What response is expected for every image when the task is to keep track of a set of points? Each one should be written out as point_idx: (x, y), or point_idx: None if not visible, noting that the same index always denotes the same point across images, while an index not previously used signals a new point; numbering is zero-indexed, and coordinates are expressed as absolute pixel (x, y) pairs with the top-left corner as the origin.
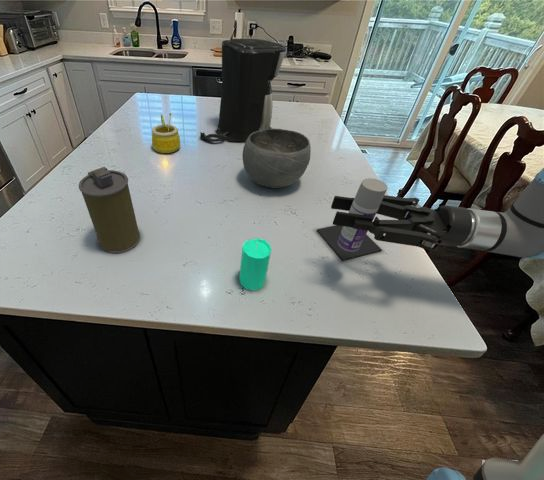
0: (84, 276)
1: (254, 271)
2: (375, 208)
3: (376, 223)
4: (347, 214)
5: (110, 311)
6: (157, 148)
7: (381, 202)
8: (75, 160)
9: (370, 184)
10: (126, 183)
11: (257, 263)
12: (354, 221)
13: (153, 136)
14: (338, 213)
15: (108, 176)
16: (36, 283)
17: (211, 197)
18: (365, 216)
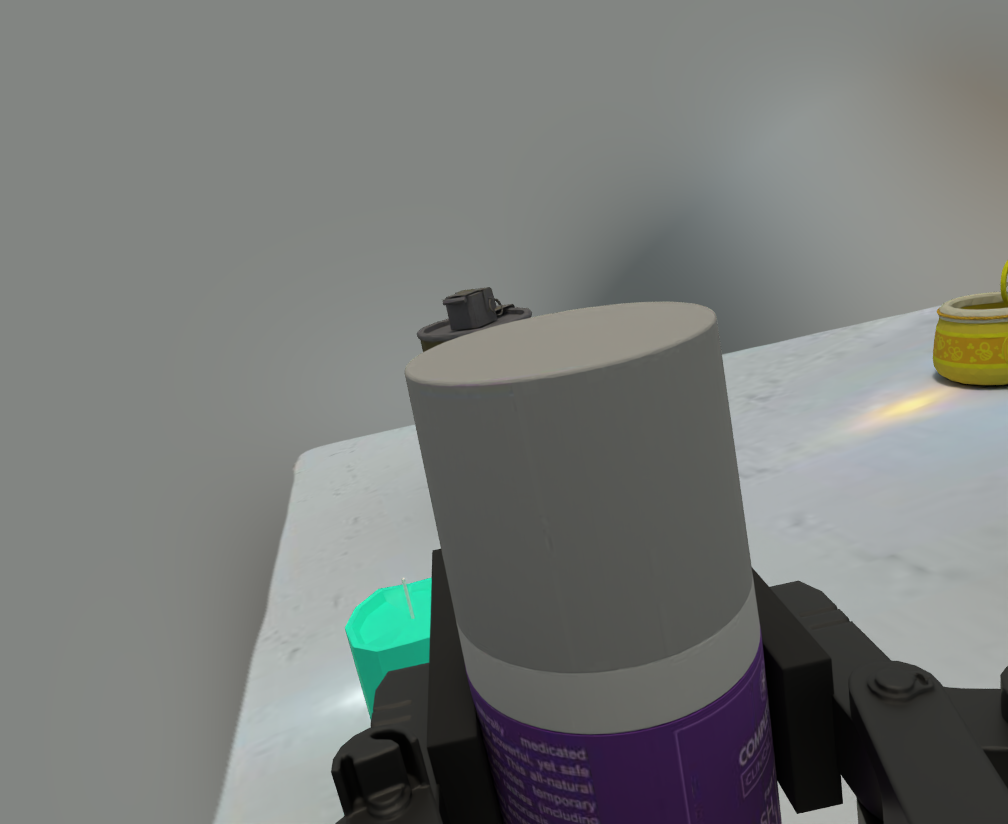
0: (374, 518)
1: (366, 703)
2: (473, 636)
3: (350, 796)
4: (441, 589)
5: (278, 584)
6: (935, 361)
7: (957, 805)
8: (730, 357)
9: (535, 330)
10: (483, 328)
11: (355, 662)
12: (410, 672)
13: (938, 321)
14: (436, 553)
15: (457, 301)
16: (344, 492)
17: (865, 527)
18: (451, 685)
